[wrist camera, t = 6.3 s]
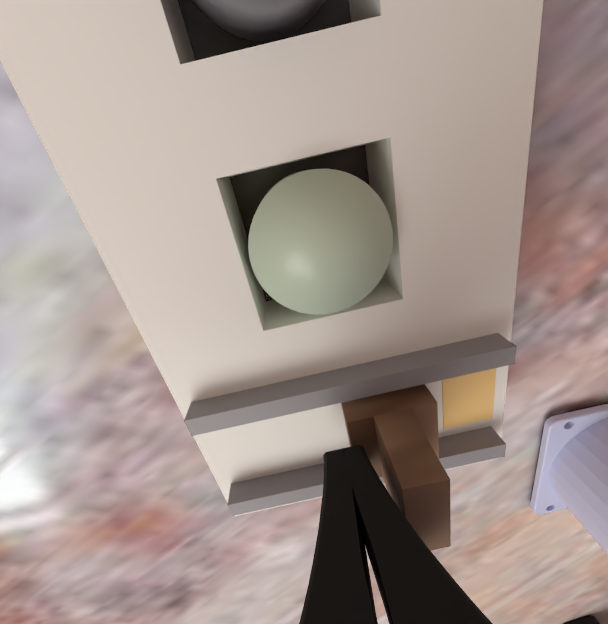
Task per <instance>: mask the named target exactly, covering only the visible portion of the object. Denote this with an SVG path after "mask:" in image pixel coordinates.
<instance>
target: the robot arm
mask: <svg viewBox="0 0 608 624" xmlns="http://www.w3.org/2000/svg"><path fill="white" fill-rule="evenodd" d="M323 460H324V482H323V496H322V505H321V514H320V522H319V530H318V536H317V542H316V548H315V554H314V559H313V565H312V570H311V575H310V580H309V585H308V589H307V594H306V598H305V602H304V607H303V611H302V615H301V619H300V623H299V624H378V623H377V617H376V612H375V606H374V599H373V593H372V587H371V580H370V574H369V568H368V562H367V555H366V549H367V552H368V556H369V559H370V562H371V565H372V568H373V572H374V575H375V578H376V581H377V584H378V588H379V591H380V594H381V597H382V600H383V604H384V607H385V610H386V613H387V617H388V620H389V624H492V623H491V622H490V620H489V619H488V618H487V617H486V616H485V615H484V614H483V613H482V612H481V611H480V610H479V608H478V607H477V606H476V605H475V604H474V603H473V602H472V600H471V599H470V598H469V597H468V596H467V595H466V593H465V592H464V591H463V590H462V589H461V588H460V586H459V585H458V584H457V583H456V582H455V581H454V579H453V578H452V577H451V576H450V575H449V573H448V572H447V571H446V570H445V568H444V567H443V566H442V565H441V564H440V562H439V561H438V560H437V559H436V557H435V556H434V555H433V554H432V552H431V551H430V550H429V548H428V547H427V546H426V545H425V543H424V542H423V541H422V539H421V538H420V537H419V535H418V534H417V533H416V531H415V530H414V529H413V527H412V526H411V525H410V523H409V522H408V520H407V519H406V518H405V516H404V515H403V513H402V512H401V510H400V509H399V507H398V506H397V504H396V503H395V501H394V500H393V499H392V497H391V496H390V494H389V493H388V491H387V489H386V488H385V486H384V485H383V483H382V481H381V480H380V478H379V476H378V475H377V473H376V471H375V469H374V468H373V466H372V464H371V462H370V460H369V458H368V456H367V454H366V452H365V449H364V447H363V446H361V445H356V446H351V447H347V448H342V449H338V450H333V451H329V452H326V453H325V454H324V455H323ZM530 508H531V509H532V510H533V512H534V513H535V514H545V513H549V512H554V511H559V510H563V509H569V511H570V512H571V513H572V514H573V515H574V516H575V517H576V519H577V520H578V521H579V522H580V523H581V524H582V526H583V527H584V528H585V529H586V530H587V531H588V532H589V534H590V535H591V536H592V537H593V538H594V539H595V541H596V542H597V543H598V544H599V545H600V546H601V548H602V549H603V550H604V551H605V552H606V553H607V554H608V404H604V405H599V406H595V407H590V408H586V409H581V410H577V411H572V412H568V413H563V414H559V415H554V416H551V417H550V418H548V419H547V420H546V421H545V424H544V429H543V435H542V441H541V447H540V452H539V458H538V464H537V469H536V475H535V481H534V486H533V492H532V498H531V503H530ZM365 546H366V549H365Z"/></svg>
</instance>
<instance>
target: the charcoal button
mask: <svg viewBox="0 0 608 624" xmlns="http://www.w3.org/2000/svg"><path fill="white" fill-rule="evenodd" d="M192 1H193V2H194V3H195V4H196V6H197V7H198V8H199V9H200V10H201V11H202V12H203V14H205V15H206V16H207V17H208V18H209V19H210V20H211V21H212V22H213V23H215V24H216V25H218V26H219V27H221V28H222V29H223V30H225V31H227V32H229V33H231V34H233V35H236V36H238V37H241V38H244V39H249V40H255V41H268V40H274V39H279V38H282V37H285V36H287V35H289V34H291V33H293V32H295V31H297V30H298V29H300V28H301V27H302V26H304V25H305V24H306V23H307V22H308V21H309V20H310V19H311V18H312V17H313V16H314V15H315V14H316V13H317V11H318V10H319V9H320V7H321V6H322V5H323V3H324V1H325V0H192Z"/></svg>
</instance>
